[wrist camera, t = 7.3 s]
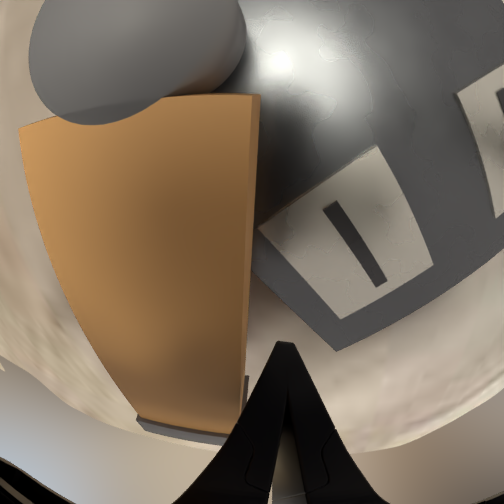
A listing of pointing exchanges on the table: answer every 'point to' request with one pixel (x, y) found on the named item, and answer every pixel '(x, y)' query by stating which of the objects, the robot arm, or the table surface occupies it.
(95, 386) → the table surface
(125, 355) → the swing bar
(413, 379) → the table surface
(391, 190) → the label panel
